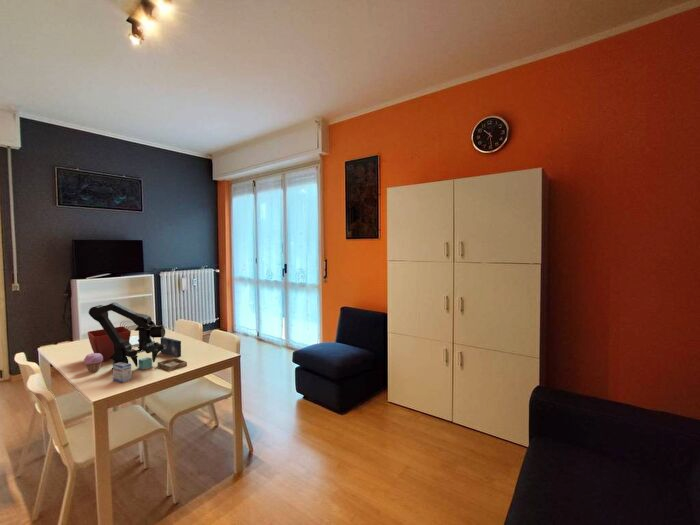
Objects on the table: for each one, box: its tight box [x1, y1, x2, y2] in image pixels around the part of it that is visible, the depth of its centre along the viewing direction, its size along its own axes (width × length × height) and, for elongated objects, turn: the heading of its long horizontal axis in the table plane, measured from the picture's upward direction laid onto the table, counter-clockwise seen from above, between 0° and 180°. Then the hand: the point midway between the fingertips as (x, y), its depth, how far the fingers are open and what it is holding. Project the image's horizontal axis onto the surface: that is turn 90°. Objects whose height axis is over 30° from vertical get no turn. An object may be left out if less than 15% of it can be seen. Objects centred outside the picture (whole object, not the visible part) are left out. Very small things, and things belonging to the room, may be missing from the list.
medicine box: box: [112, 362, 132, 384], centre depth 175 cm, size 8×4×9 cm, turn 69°
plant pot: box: [87, 325, 132, 363], centre depth 211 cm, size 19×19×17 cm
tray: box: [157, 357, 188, 371], centre depth 196 cm, size 10×13×2 cm
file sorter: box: [119, 319, 156, 348], centre depth 246 cm, size 25×17×16 cm
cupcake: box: [83, 352, 104, 373], centre depth 188 cm, size 9×9×10 cm
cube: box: [138, 356, 153, 370], centre depth 194 cm, size 5×5×5 cm
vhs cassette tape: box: [160, 336, 182, 358], centre depth 218 cm, size 18×3×10 cm, turn 59°
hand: (145, 364), depth 194 cm, fingers open, 9 cm apart
